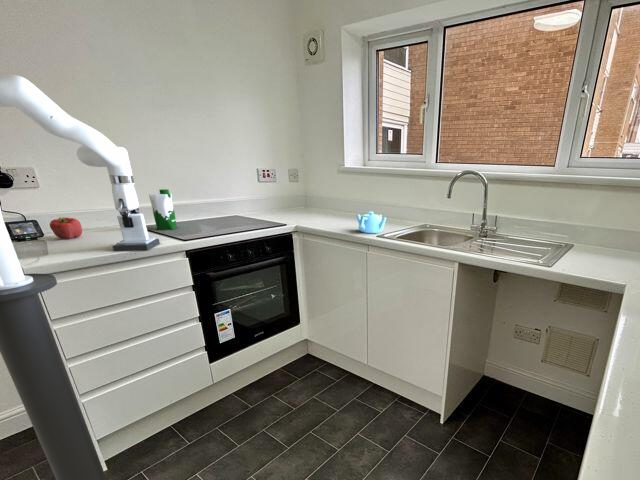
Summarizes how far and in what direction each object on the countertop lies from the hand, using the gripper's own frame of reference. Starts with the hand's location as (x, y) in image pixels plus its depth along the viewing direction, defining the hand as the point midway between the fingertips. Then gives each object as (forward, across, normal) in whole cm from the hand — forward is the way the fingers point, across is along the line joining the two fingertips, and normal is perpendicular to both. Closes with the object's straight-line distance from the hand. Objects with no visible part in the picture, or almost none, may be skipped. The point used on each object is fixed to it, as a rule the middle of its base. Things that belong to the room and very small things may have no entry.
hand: (133, 225), depth 145 cm
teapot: (+9, -30, +105) cm, 110 cm away
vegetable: (+9, -20, -35) cm, 41 cm away
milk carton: (+9, -44, -3) cm, 45 cm away
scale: (+9, 0, 0) cm, 9 cm away
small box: (+6, 0, 0) cm, 6 cm away
